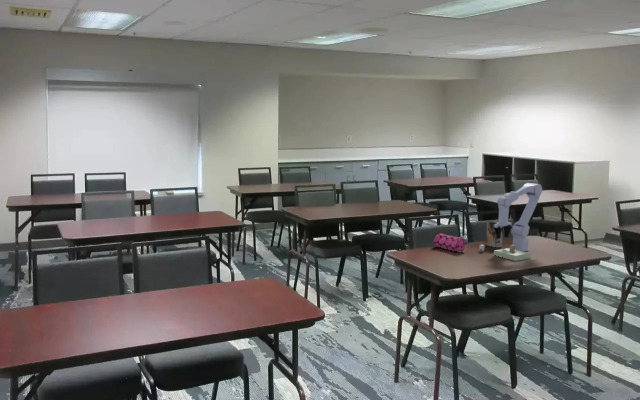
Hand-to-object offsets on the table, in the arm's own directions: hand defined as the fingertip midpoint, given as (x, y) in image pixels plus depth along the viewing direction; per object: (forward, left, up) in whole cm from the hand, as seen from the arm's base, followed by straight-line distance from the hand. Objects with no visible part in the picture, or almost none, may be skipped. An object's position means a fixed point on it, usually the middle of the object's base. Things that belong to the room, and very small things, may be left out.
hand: (502, 237), depth 353 cm
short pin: (+8, -9, -9) cm, 15 cm away
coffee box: (-12, -16, -10) cm, 22 cm away
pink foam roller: (+22, -23, -10) cm, 33 cm away
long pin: (+3, +10, -9) cm, 14 cm away
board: (+3, +10, -9) cm, 15 cm away
